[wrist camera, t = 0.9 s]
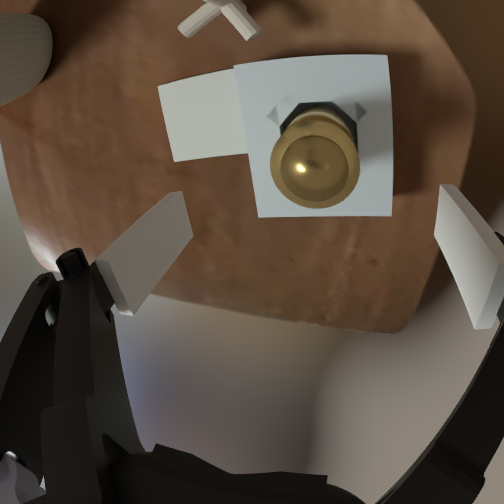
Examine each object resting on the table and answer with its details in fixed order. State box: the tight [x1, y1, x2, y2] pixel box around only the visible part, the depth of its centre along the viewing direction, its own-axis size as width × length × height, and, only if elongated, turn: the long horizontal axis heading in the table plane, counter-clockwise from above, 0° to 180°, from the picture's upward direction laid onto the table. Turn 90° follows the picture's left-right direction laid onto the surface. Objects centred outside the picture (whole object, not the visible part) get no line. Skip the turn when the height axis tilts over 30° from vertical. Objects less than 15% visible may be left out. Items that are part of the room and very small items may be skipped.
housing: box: [234, 55, 393, 217], centre depth 28 cm, size 16×14×5 cm
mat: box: [158, 69, 248, 162], centre depth 32 cm, size 10×10×1 cm
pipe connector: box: [178, 0, 263, 42], centre depth 20 cm, size 10×10×10 cm
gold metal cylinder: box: [270, 104, 360, 209], centre depth 24 cm, size 6×6×14 cm
